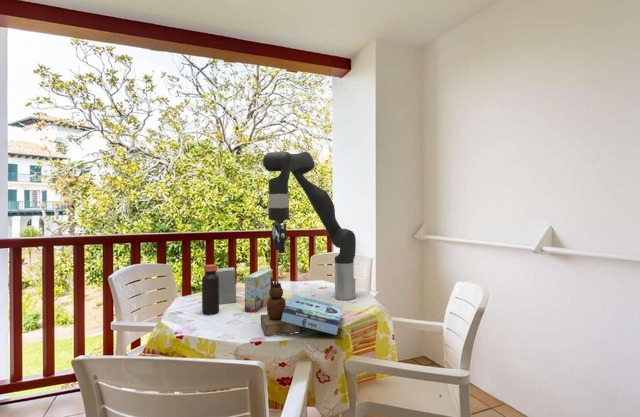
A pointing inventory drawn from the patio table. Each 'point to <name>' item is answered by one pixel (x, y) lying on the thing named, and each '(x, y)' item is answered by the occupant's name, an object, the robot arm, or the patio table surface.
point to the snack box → (257, 289)
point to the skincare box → (227, 285)
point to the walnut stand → (277, 326)
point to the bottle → (210, 291)
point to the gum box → (312, 314)
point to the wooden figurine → (275, 301)
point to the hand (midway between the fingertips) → (279, 251)
